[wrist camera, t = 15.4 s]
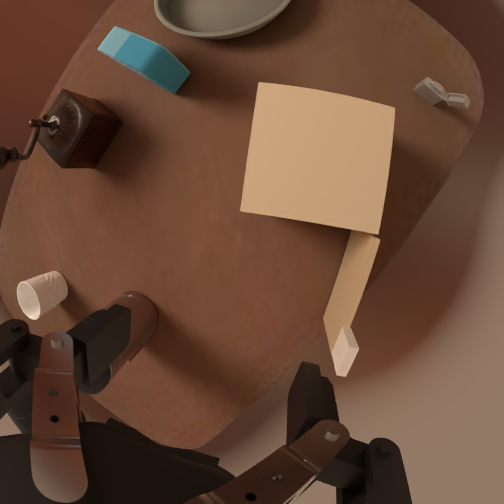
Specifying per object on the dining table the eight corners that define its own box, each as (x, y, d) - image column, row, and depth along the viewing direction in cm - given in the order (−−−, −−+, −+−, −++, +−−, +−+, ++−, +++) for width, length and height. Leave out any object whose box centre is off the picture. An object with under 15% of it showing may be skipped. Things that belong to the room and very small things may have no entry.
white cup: (72, 279, 52) (41, 295, 42) (67, 308, 54) (39, 327, 44) (49, 261, 52) (17, 274, 42) (45, 290, 54) (16, 305, 44)
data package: (130, 70, 41) (93, 47, 30) (145, 50, 40) (111, 23, 28) (177, 96, 42) (144, 73, 30) (193, 75, 41) (165, 46, 29)
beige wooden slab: (358, 226, 43) (396, 249, 26) (328, 319, 47) (344, 379, 30) (351, 224, 43) (386, 246, 27) (322, 317, 47) (334, 378, 30)
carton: (355, 221, 43) (378, 234, 31) (252, 204, 44) (240, 211, 33) (369, 126, 39) (395, 108, 28) (266, 108, 41) (258, 82, 29)
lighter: (413, 90, 37) (433, 76, 29) (416, 83, 36) (437, 68, 28) (445, 117, 37) (469, 107, 29) (448, 109, 36) (472, 100, 29)
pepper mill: (91, 95, 43) (26, 73, 25) (124, 122, 44) (56, 103, 26) (53, 161, 47) (-14, 161, 29) (81, 192, 47) (10, 201, 30)
